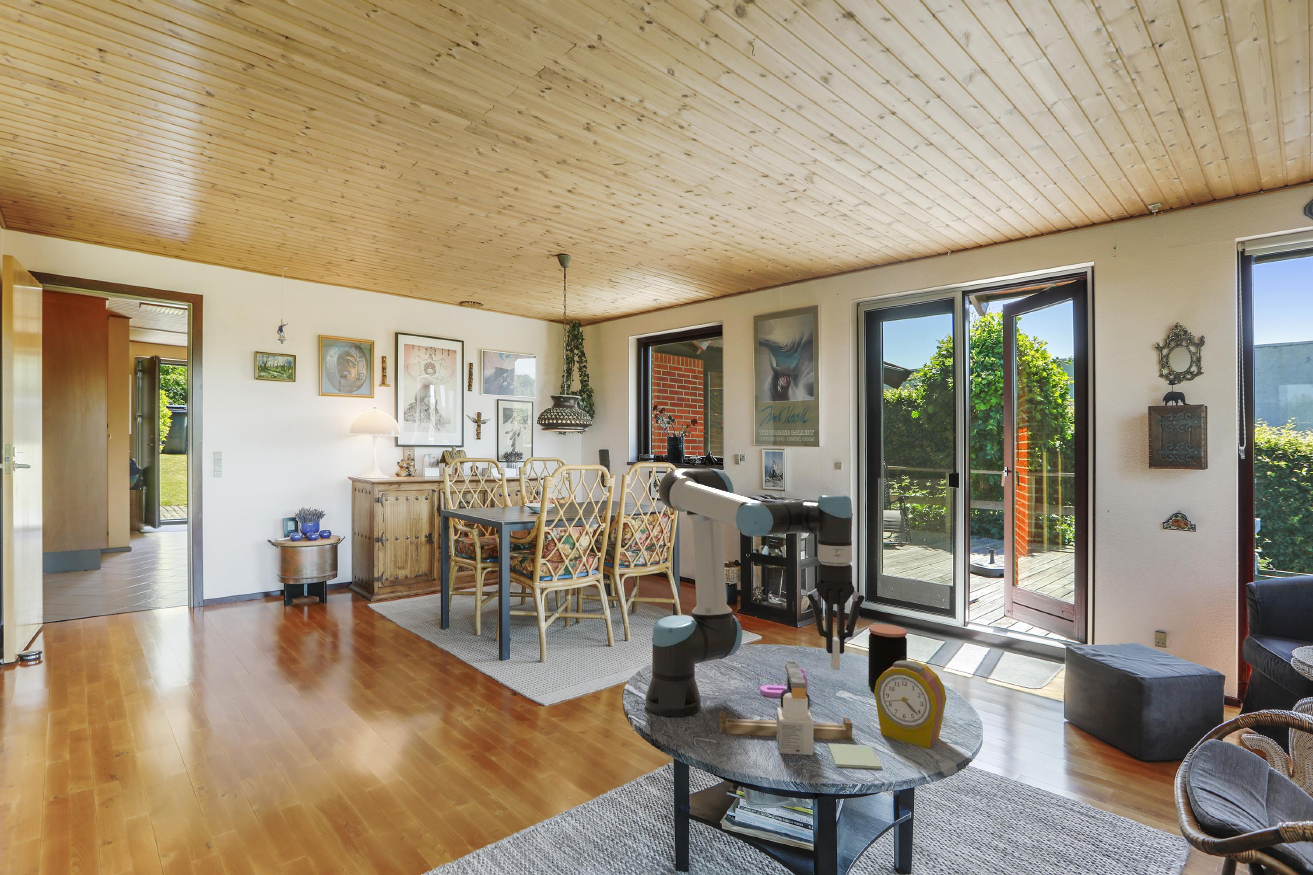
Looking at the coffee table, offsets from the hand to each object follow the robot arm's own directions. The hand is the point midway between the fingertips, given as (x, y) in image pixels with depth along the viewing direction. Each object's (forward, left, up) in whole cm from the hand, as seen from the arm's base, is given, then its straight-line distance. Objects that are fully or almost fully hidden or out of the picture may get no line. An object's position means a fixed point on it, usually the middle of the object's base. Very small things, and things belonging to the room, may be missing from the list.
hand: (835, 667), depth 145 cm
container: (-8, +6, -21) cm, 23 cm away
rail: (-10, +13, -21) cm, 26 cm away
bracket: (-7, +40, -21) cm, 46 cm away
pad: (+5, +2, -21) cm, 22 cm away
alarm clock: (+21, +15, -21) cm, 33 cm away
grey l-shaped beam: (-8, +6, -18) cm, 21 cm away
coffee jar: (+24, +46, -21) cm, 56 cm away
